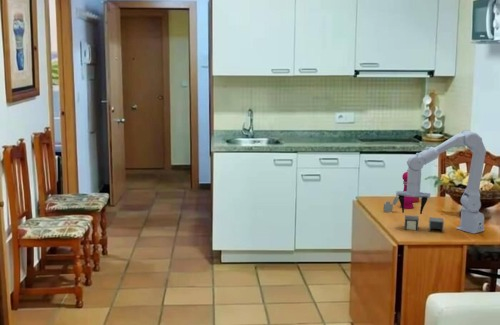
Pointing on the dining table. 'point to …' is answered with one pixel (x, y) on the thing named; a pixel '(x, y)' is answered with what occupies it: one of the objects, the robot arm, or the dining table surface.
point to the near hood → (436, 223)
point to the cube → (411, 224)
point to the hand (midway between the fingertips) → (411, 212)
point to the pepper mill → (407, 200)
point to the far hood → (411, 219)
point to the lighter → (390, 205)
